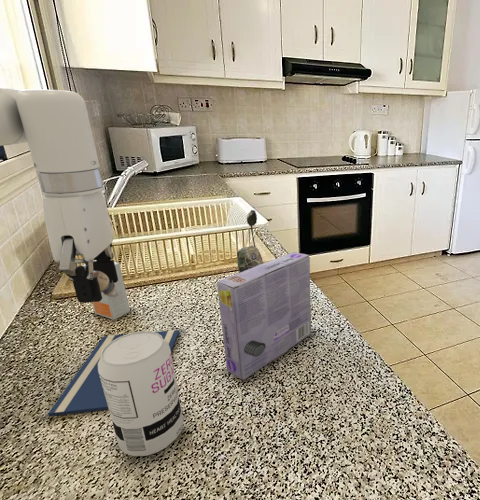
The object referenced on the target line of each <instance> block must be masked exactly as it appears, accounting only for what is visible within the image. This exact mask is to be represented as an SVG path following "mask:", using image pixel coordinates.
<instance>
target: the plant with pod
mask: <svg viewBox="0 0 480 500" xmlns="http://www.w3.org/2000/svg"><path fill="white" fill-rule="evenodd" d="M257 221H258V216H257V212H256V210H254V209H250V211H249V212H248V213H247V214H246V223H247V225H248V227H250V233H251V238H252V243H253V245H249V246H243V247H241V248H240V249H238V251H237V252H236V263H237V269H238V273H240V272H243V271H246V270H248V269H251V268H253V267H256V266H258V265H261V264H264V261H263V257H262V255H261V253H260V249H258V248H257V246H256V242H255V237H254V230H253V229H254V228H253V226H255V225H256V224H257Z"/></svg>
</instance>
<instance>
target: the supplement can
mask: <svg viewBox="0 0 480 500" xmlns="http://www.w3.org/2000/svg"><path fill="white" fill-rule="evenodd" d="M156 332H157V331H152V330H140V331H134V332H130V333H125V334H126V335H124V334H122V335H123V336H121V337H119V338H117V339H115V340H113V341H111V342H110V343H109V344H108V345H106V346H105V347H104V349H103V350H102V352H101V357H100V360H99V362H98V372H99V376H100V380H101V383H102V387H103V390H104V394H105V398H106V401H107V405H108V408H109V410H108V412H109V416H110V420H111V423H112V427H113V430H114V433H115V434H114V435H115V438H116V440H117V445H118V448H119V449H120V450H121V451H122V453H123V454H125V455H127V456H131V457H147V456H150V455H154V454H157V453H159V452H160V451H162V450H164V449H166V448H168V446H170V445H171V444H172V443H173V442H174V441H175V440H177V438H178V437H179V435H180V434H181V433H182V431H183V427H184V416H183V411H182V410H183V409H182V405H181V399H180V394H179V389H178V383H177V378H176V372H175V367H174V366H175V365H174V362H173V356H172V352H171V350H170V347H169V344H168V343H167V342H166V341H165V340H164V339H163V338H162V336H161V335H160V334H158V333H156Z"/></svg>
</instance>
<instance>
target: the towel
mask: <svg viewBox="0 0 480 500" xmlns="http://www.w3.org/2000/svg"><path fill="white" fill-rule="evenodd" d="M155 332H156V333H158V334H160V335H161V336H162V338H163V339H164V340H165V341H166V342H167V343H168V344H169V347H170V350H171V353H172V352H173V349H174V347H175V345H176V342H177V340H178V338H179V335H180V329H169V330H161V331H155ZM126 334H127V333H125V334H108V335H104V336H103V337H102V338H101V339H100V340H99V342H98V343H97V345H96V346H95V348H94V349H93V350H92V352H91V353H90V355H89V356H88V358H87V359H86V361H84V363H83V364H82V366H80V368H79V370H78V371H77V373H76V374H75V376H74V377H73V378H72V380H70V382H69V383H68V385H67V387H66V388H65V389H64V391H63V392H62V394H61V395H60V396H59V397H58V399H57V401H56V402H55V403H54V404H53V406H52V408H51V409H50V410H49V411H48V414H47V415H48V417H55V416H57V417H58V416H66V415H74V414H83V413H90V412H101V411H107V410H108V411H109V408H108V405H107V401H106V398H105V394H104V390H103V387H102V383H101V380H100V376H99V372H98V362H99V360H100V357H101V352H102V350H103V349H104V347H105V346H106V345H108V344H109V343H110V342H111V341H113V340H115V339H117V338H119V337H121V336H123V335H126Z"/></svg>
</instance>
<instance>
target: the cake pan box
mask: <svg viewBox="0 0 480 500" xmlns="http://www.w3.org/2000/svg"><path fill="white" fill-rule="evenodd" d="M216 288H217V295H218V296H217V297H218V305H219V313H220V321H221V322H220V323H221V331H222V340H223V348H224V355H225V357H224V358H225V364H226V371H227V372H229V373H230V374H232V375H233V376H235V377H236V378H237V379H239V380H241V381H243V382H244V381H246V380H247V379H248V378H249V377H250V376H252V375H253V374H255V373H256V372H258V371H260V370H261V369H263V368H264V367H265V366H266V365H268V364H270V363H271V362H274V361H276V360H277V359H278V358H280V357H282V356H283V355H284V354H286V353H287V352H289V350H290V349H291V348H293V347H294V346H296V345H297V344H299V343H300V342H302V341H303V340H305V339H306V338H307V337H310V336H311V335H312V305H311V257H310V255H309V254H306V253H300V252H295V251H292V252H289V253H287V254H285V255H282V256H279V257H277V258H274V259H271V260H268V261H267V262H263V264H261V265H258V266H256V267H253V268H251V269H248V270H246V271H243V272H238V273H235V274H233V275H230V276H228V277H225V278H223V279H220V280H216Z"/></svg>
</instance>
